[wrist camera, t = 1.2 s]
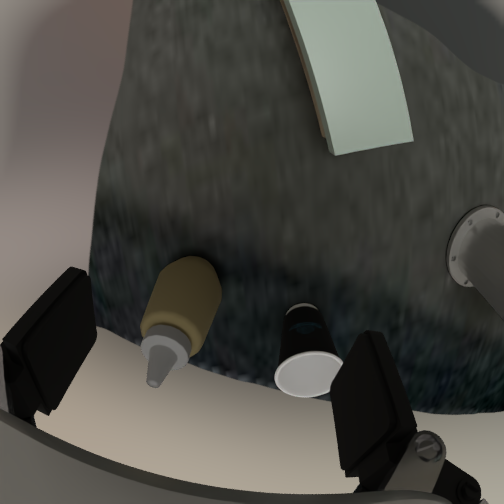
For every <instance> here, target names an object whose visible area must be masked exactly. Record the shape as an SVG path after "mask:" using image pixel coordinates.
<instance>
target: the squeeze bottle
mask: <svg viewBox="0 0 504 504" xmlns="http://www.w3.org/2000/svg"><path fill="white" fill-rule="evenodd" d="M221 297H222V288H221V285H220V282H219V279H218V277H217V274H216V272H215V269H214V267H213V266H212V265H211V264H210V263H209V262H208V261H207V260H205V259H203V258H201V257H198V256H187V257H184V258H181V259H179V260H177V261H175V262H172V263H170V264H169V265H167V266H166V267H165V268H164V269H163V270H162V271H161V272H160V274H159V276H158V279H157V282H156V284H155V287H154V289H153V292H152V295H151V297H150V300H149V303H148V305H147V308H146V311H145V313H144V316H143V319H142V322H141V325H140V328H141V333H142V336H143V340H142V343H141V350H142V353H143V355H144V356H145V358H146V359H147V360H148V361H149V363H148V371H147V381H146V382H147V384H148V385H149V386H151V387H154V388H158V387H159V386H160V385H161V383H162V382H163V380H164V379H165V377H166V376H167V375H168V373H169V371H170V370H177V369H181V368H182V367H184V366H186V364H187V362H188V360H189V357H191V356H193V355H194V354H196V353H198V352H199V350H200V349H201V347H202V345H203V343H204V340H205V338H206V336H207V333H208V331H209V328H210V326H211V324H212V321H213V319H214V316H215V314H216V312H217V309H218V307H219V304H220V302H221Z"/></svg>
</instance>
